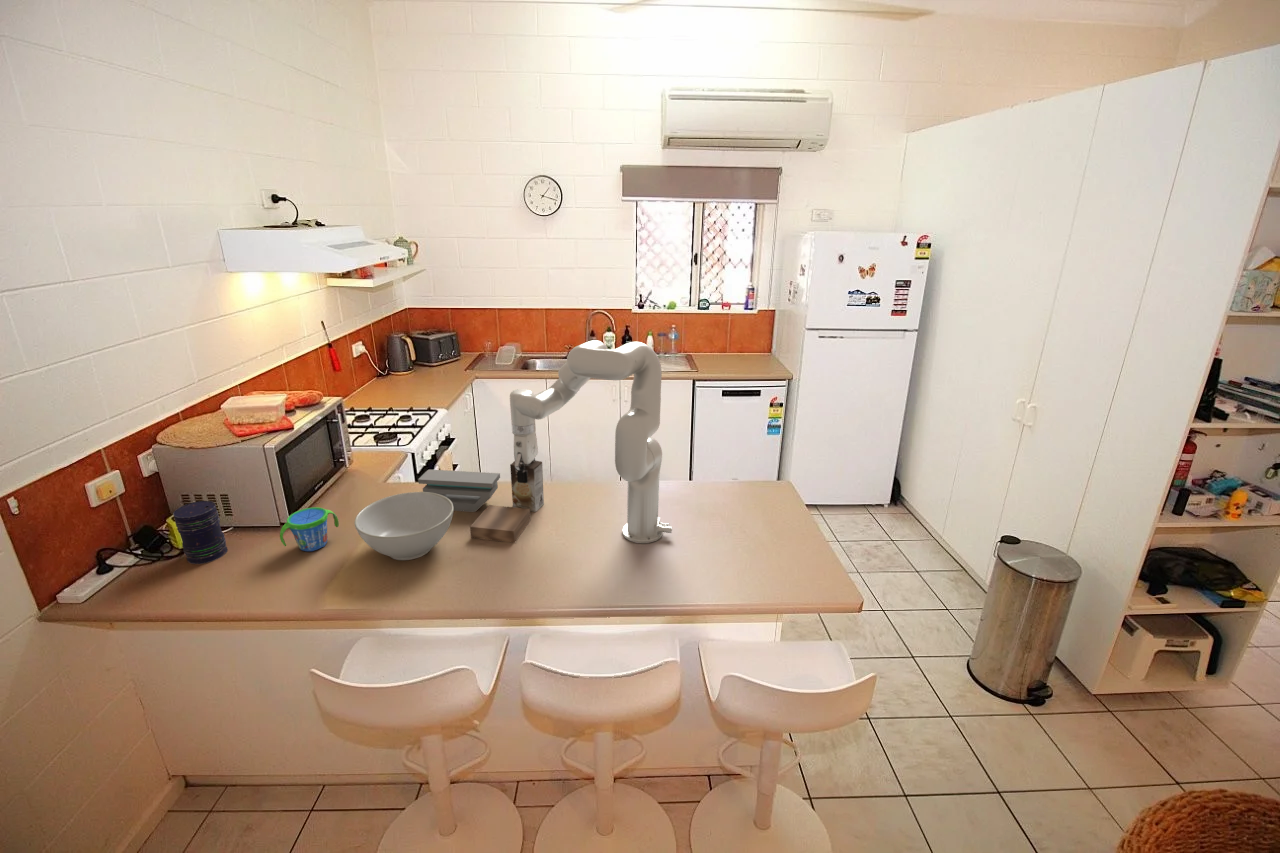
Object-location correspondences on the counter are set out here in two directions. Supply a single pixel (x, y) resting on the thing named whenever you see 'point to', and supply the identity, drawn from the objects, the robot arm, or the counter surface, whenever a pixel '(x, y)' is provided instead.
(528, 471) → the coffee box
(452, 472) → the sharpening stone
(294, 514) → the snack cup
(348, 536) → the counter surface
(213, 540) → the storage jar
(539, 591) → the counter surface
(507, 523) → the walnut riser
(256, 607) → the counter surface
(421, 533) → the decorative bowl
